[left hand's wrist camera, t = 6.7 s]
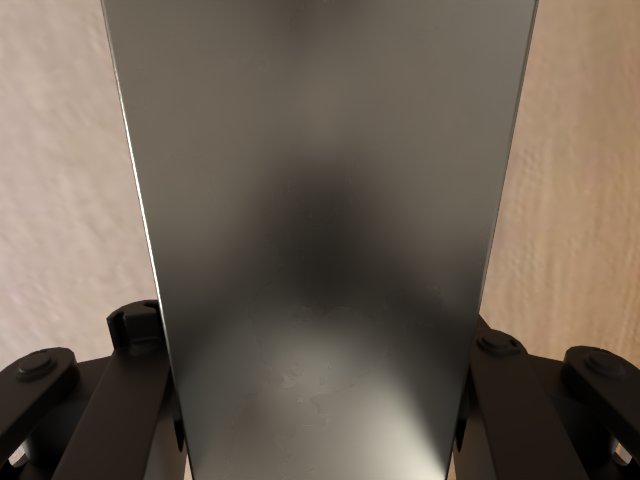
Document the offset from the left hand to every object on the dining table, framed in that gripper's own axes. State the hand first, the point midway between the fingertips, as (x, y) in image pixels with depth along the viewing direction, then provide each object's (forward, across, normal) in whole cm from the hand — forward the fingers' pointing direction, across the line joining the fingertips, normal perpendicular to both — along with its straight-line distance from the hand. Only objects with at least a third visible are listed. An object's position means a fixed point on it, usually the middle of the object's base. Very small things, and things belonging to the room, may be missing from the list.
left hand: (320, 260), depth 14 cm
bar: (+1, 0, -7) cm, 7 cm away
